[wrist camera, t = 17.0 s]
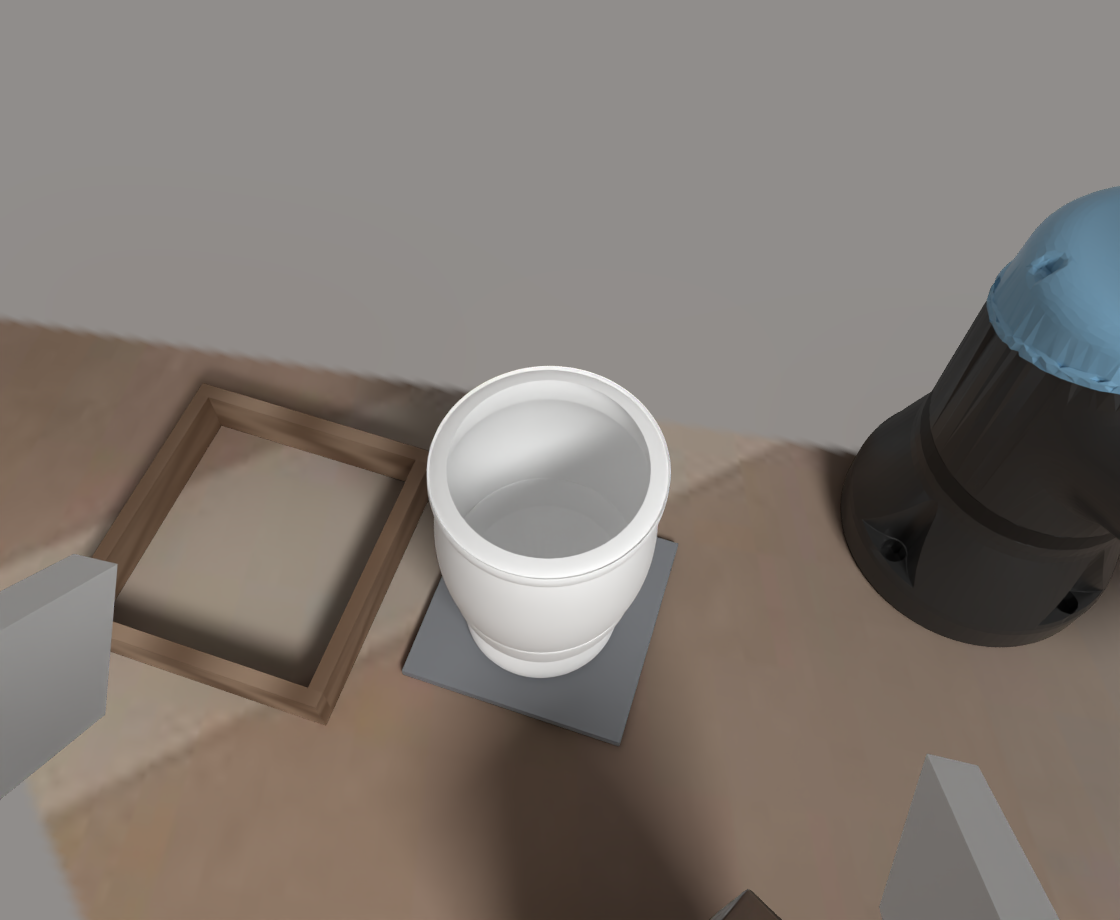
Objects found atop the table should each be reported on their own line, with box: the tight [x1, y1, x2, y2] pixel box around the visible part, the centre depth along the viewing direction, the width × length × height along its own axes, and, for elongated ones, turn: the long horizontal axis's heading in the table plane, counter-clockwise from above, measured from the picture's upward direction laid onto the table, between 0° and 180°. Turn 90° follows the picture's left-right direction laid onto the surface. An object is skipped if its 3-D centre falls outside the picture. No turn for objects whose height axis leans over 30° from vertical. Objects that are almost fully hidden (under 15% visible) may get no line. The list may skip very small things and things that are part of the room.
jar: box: [427, 366, 671, 678], centre depth 48 cm, size 11×10×15 cm
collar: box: [91, 383, 429, 725], centre depth 55 cm, size 15×16×3 cm
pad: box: [402, 537, 678, 746], centre depth 55 cm, size 12×12×1 cm
